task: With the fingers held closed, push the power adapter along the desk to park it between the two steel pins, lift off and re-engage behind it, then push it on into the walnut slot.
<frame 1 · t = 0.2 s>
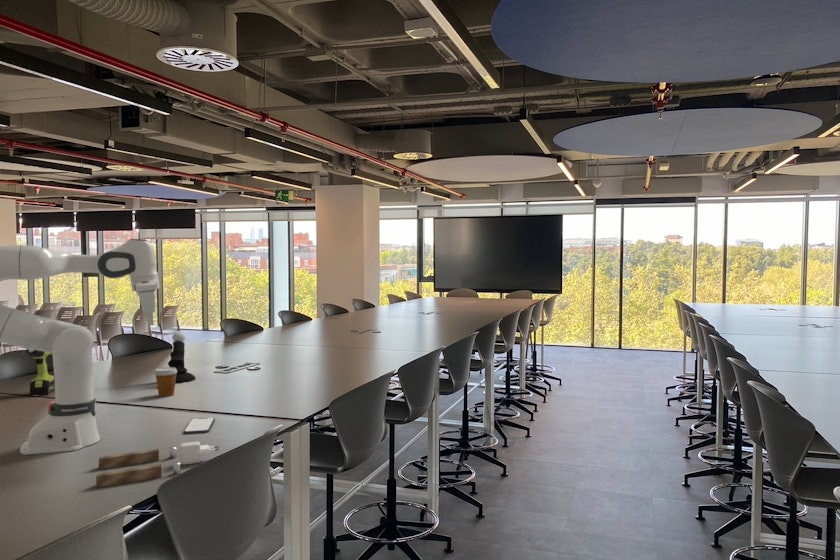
hand: (150, 323, 200), 39 cm above the table, tool pointing down, fingers open, 8 cm apart
steel pins: (174, 464, 169), on the table
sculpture: (178, 382, 286), on the table
disposable coffee cup: (166, 395, 258), on the table
smartphone: (199, 428, 208), on the table
power adapter: (199, 461, 173), on the table
cordless drill: (39, 396, 258), on the table
walnut slot: (129, 471, 164), on the table
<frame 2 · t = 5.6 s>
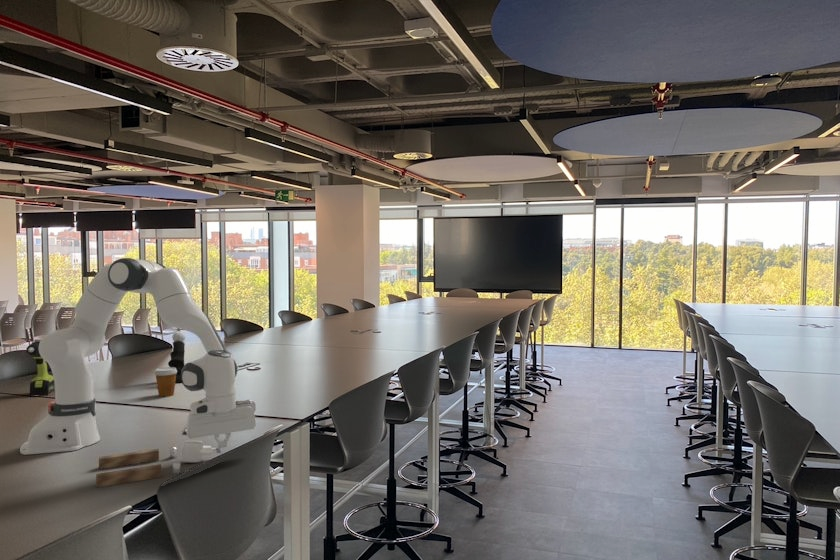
hand: (222, 447, 175), 3 cm above the table, tool pointing down, fingers closed
power adapter: (199, 461, 173), on the table, touching gripper
everything else where it was.
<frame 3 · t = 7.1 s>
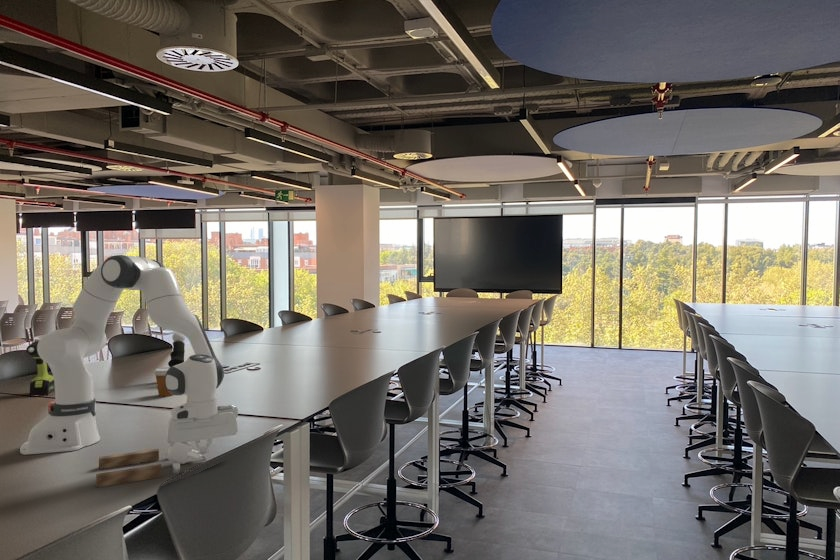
hand: (203, 453, 173), 2 cm above the table, tool pointing down, fingers closed
power adapter: (182, 463, 170), on the table, touching gripper
everything else where it was.
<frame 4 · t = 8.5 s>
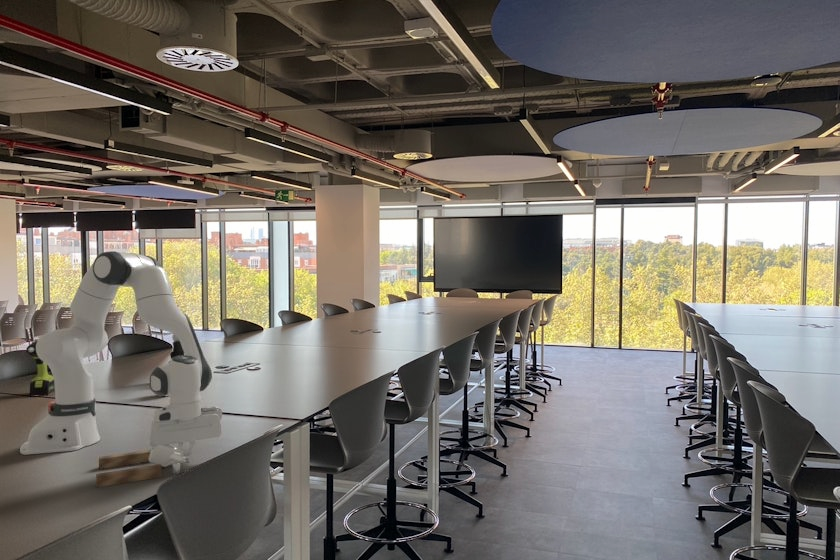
hand: (186, 455, 171), 2 cm above the table, tool pointing down, fingers closed
power adapter: (165, 466, 168), on the table, touching gripper
everything else where it was.
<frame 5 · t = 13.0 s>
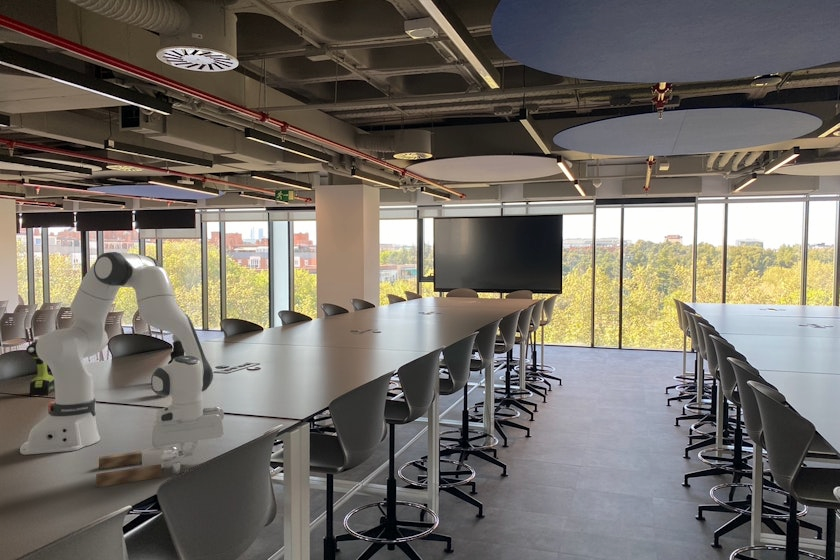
hand: (188, 455, 171), 2 cm above the table, tool pointing down, fingers closed
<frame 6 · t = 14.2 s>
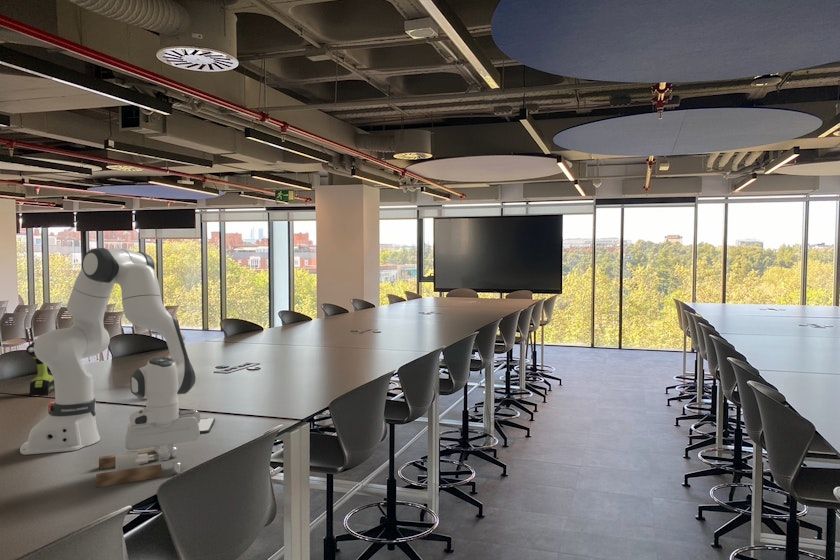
hand: (163, 459, 168), 2 cm above the table, tool pointing down, fingers closed
power adapter: (137, 471, 165), on the table, touching gripper
everything else where it was.
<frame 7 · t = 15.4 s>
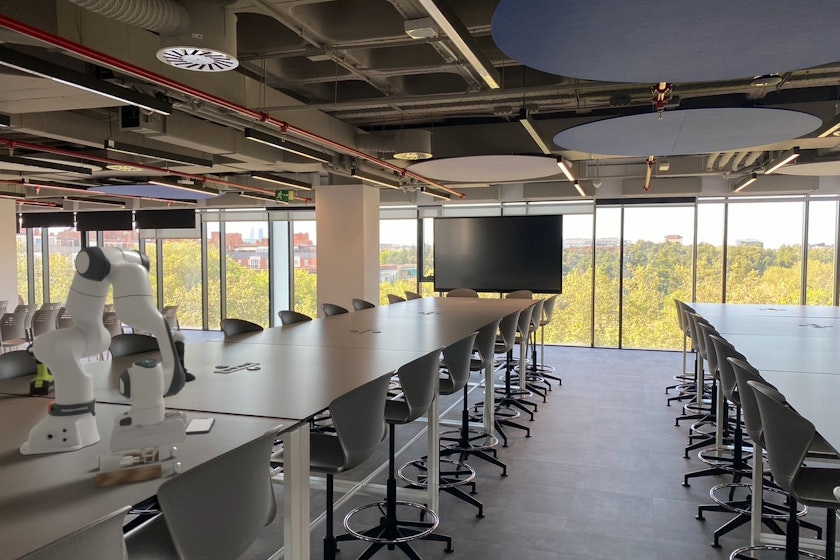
hand: (149, 461, 166), 2 cm above the table, tool pointing down, fingers closed
power adapter: (122, 474, 163), on the table, touching gripper
everything else where it was.
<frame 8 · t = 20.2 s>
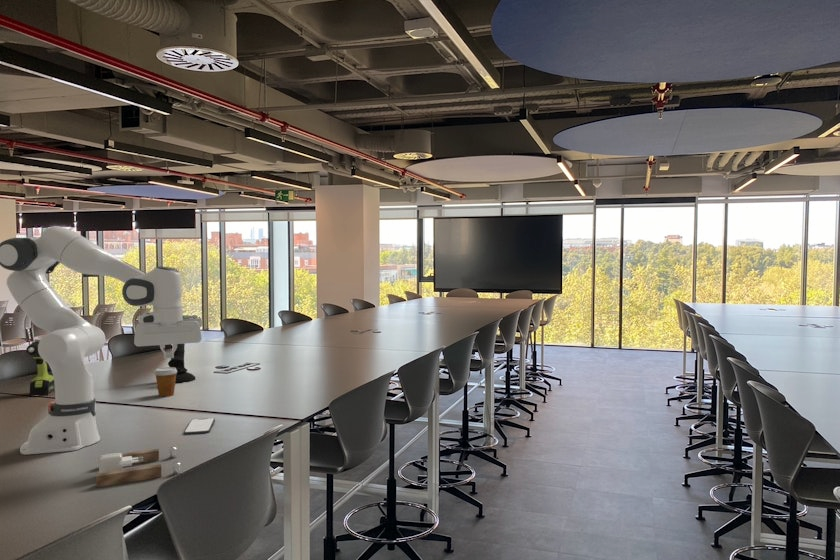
hand: (168, 358, 186), 29 cm above the table, tool pointing down, fingers closed
power adapter: (121, 474, 163), on the table
everything else where it was.
at the end: power adapter inside the target area on the walnut slot (2.1 cm from its centre), point 0.0 cm above the walnut slot's base; power adapter moved 21.1 cm from its start; power adapter tilted 0° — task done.
